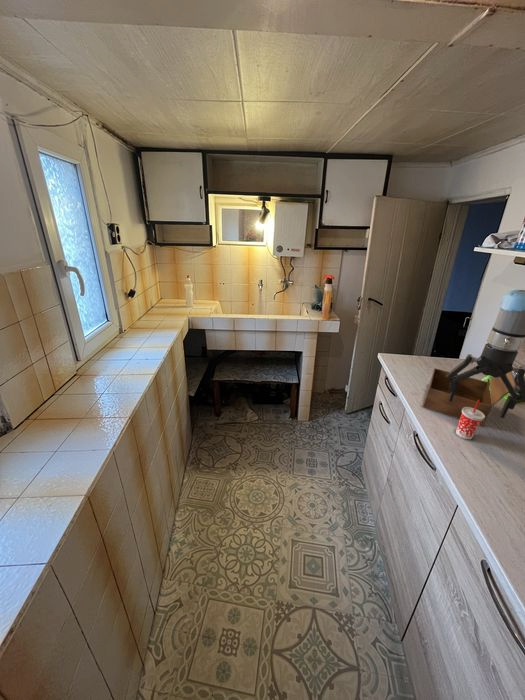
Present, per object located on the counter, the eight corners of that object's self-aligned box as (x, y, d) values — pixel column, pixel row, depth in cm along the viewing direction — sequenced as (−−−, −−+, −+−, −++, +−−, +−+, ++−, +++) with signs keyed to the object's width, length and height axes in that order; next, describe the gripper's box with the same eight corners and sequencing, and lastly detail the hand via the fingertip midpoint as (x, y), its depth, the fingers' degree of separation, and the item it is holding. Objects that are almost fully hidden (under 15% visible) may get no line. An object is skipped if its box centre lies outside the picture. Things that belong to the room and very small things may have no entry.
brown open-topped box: (481, 400, 113) (488, 382, 109) (482, 426, 98) (491, 406, 94) (428, 385, 122) (434, 368, 119) (423, 406, 107) (429, 388, 104)
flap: (489, 380, 109) (490, 381, 109) (492, 404, 94) (493, 405, 94) (508, 363, 104) (509, 363, 104) (514, 385, 89) (516, 386, 89)
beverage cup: (464, 442, 90) (479, 406, 85) (449, 429, 96) (462, 395, 90) (479, 439, 92) (496, 404, 86) (464, 427, 97) (478, 393, 91)
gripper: (451, 339, 84) (429, 398, 92) (564, 364, 71) (527, 430, 80) (452, 332, 89) (432, 389, 98) (557, 354, 77) (523, 416, 86)
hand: (475, 407), depth 89 cm, fingers open, 13 cm apart
